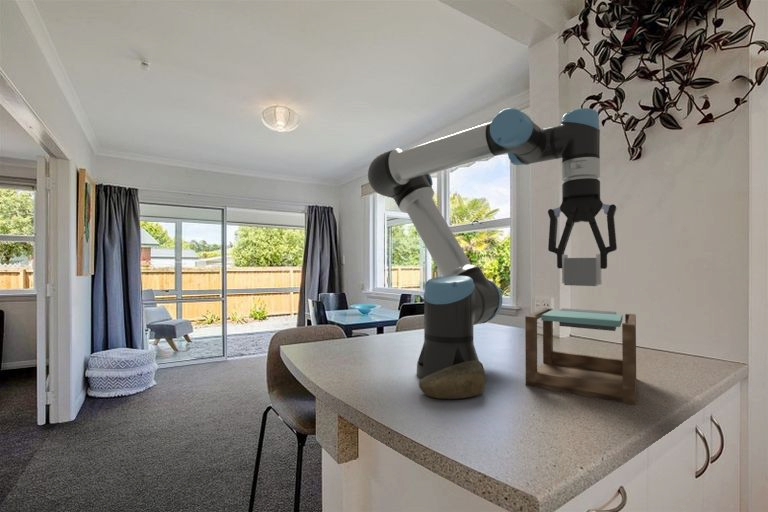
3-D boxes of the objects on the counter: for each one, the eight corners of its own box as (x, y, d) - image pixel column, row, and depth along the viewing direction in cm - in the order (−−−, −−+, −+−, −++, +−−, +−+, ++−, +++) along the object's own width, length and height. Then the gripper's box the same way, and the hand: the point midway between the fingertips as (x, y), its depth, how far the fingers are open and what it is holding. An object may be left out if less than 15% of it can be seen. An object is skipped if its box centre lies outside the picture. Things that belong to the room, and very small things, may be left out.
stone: (503, 389, 75) (487, 348, 73) (450, 432, 71) (431, 390, 68) (477, 373, 83) (461, 336, 81) (427, 411, 79) (409, 373, 76)
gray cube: (564, 285, 82) (564, 258, 82) (568, 284, 87) (568, 258, 87) (595, 286, 79) (595, 257, 79) (598, 285, 83) (598, 258, 84)
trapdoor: (541, 333, 84) (541, 315, 84) (556, 322, 99) (556, 307, 99) (620, 341, 75) (620, 321, 75) (623, 328, 91) (623, 311, 91)
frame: (525, 385, 82) (525, 316, 82) (544, 365, 98) (544, 308, 99) (635, 404, 70) (634, 325, 71) (636, 378, 87) (635, 314, 87)
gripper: (532, 182, 86) (532, 282, 85) (631, 171, 75) (632, 285, 75) (539, 188, 92) (540, 281, 92) (631, 178, 81) (633, 284, 81)
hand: (581, 283), depth 83 cm, fingers closed on gray cube, 6 cm apart
